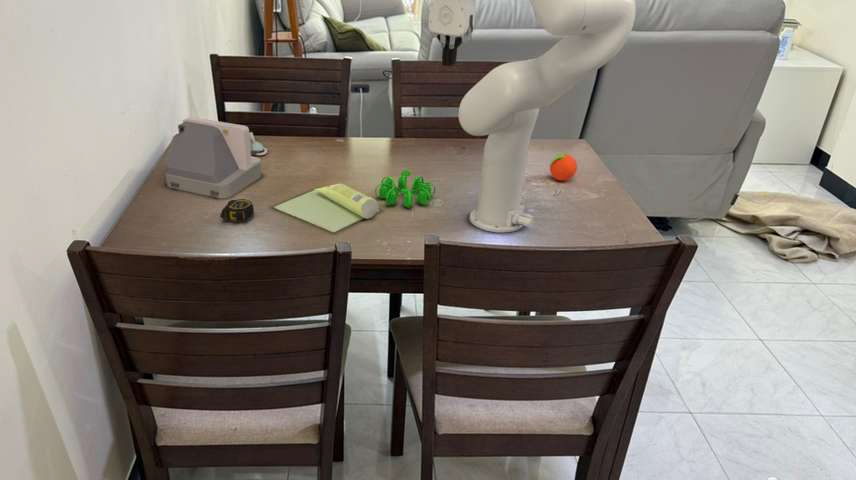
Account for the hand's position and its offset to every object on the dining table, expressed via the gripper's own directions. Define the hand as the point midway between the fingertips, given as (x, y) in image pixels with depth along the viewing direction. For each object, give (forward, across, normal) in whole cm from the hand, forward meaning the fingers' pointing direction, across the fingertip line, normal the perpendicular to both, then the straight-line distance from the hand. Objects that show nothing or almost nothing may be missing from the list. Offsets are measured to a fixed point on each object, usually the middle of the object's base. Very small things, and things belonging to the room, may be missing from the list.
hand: (448, 64), depth 159 cm
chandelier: (+31, -2, -12) cm, 34 cm away
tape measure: (+31, -24, -48) cm, 62 cm away
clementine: (+31, +21, +26) cm, 46 cm away
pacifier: (+31, -54, -15) cm, 64 cm away
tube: (+28, 0, -28) cm, 39 cm away
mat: (+31, -12, -30) cm, 45 cm away
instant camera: (+31, -46, -37) cm, 67 cm away
